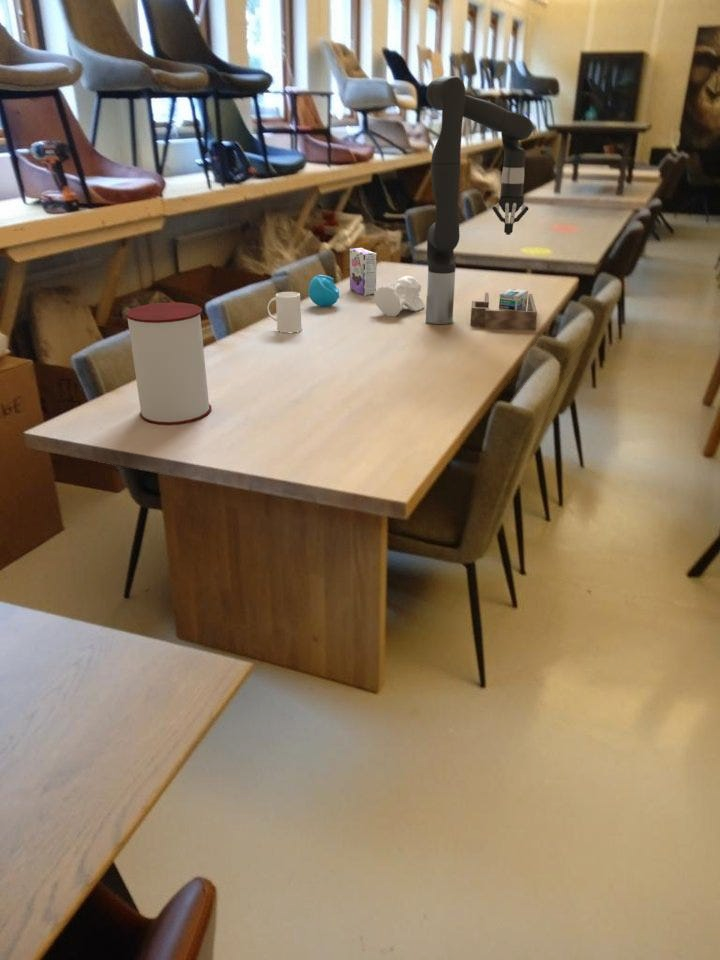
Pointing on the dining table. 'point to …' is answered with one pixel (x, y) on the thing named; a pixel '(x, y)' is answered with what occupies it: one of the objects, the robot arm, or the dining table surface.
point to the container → (169, 362)
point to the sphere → (323, 291)
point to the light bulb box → (513, 300)
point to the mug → (287, 311)
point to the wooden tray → (503, 316)
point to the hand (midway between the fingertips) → (508, 234)
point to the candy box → (363, 271)
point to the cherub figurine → (399, 296)
